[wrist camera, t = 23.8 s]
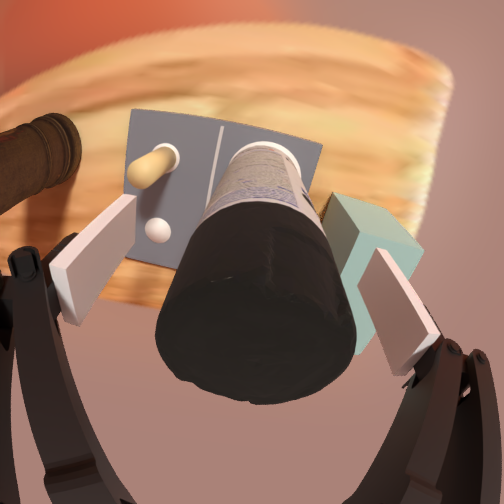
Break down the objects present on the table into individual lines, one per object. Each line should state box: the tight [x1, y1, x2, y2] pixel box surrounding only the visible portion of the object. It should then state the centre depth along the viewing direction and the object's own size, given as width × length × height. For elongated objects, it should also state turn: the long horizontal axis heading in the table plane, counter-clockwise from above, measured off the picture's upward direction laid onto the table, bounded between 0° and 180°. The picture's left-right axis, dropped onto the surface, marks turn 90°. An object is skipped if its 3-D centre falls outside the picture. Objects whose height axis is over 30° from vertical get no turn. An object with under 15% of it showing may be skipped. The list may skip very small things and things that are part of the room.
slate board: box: [124, 109, 323, 269], centre depth 25 cm, size 18×17×7 cm
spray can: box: [155, 145, 357, 405], centre depth 17 cm, size 7×7×20 cm
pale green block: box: [321, 192, 424, 355], centre depth 26 cm, size 7×13×9 cm, turn 167°
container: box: [0, 113, 81, 215], centre depth 17 cm, size 9×9×18 cm
